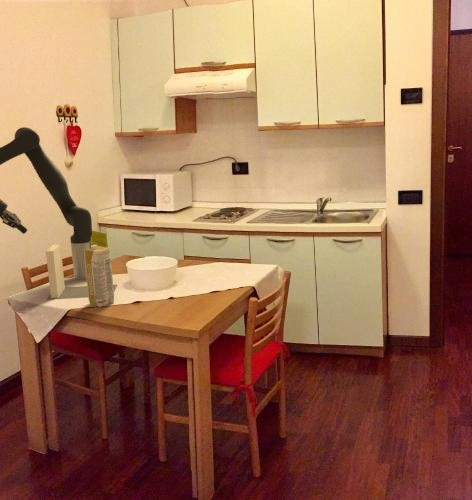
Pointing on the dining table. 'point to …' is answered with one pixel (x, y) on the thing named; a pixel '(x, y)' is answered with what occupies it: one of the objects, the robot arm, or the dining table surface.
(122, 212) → the dining table surface
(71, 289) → the mat
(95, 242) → the food package
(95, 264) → the juice carton
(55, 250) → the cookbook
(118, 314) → the dining table surface
